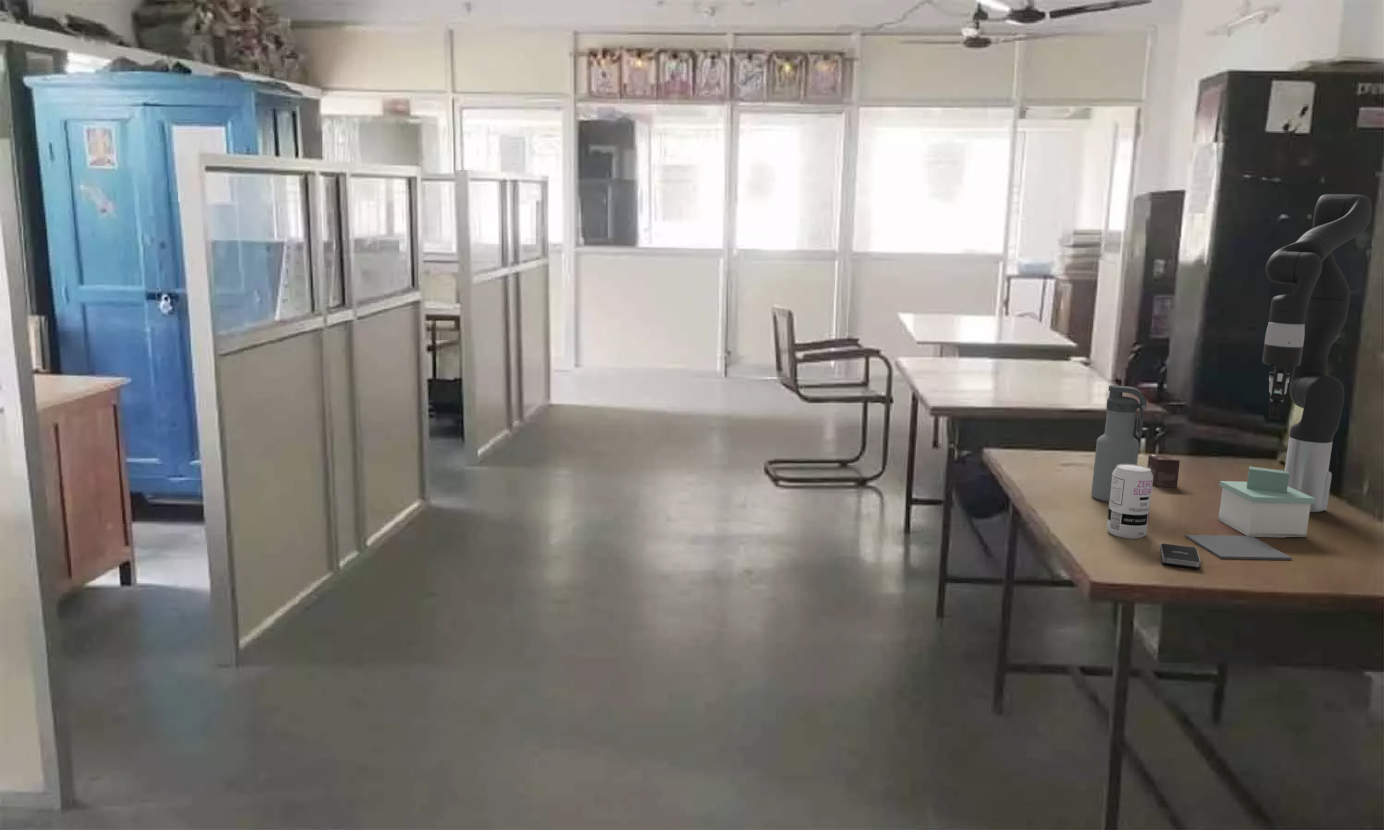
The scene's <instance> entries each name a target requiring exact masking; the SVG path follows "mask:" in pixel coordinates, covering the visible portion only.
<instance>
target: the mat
mask: <svg viewBox="0 0 1384 830" xmlns="http://www.w3.org/2000/svg"><path fill="white" fill-rule="evenodd" d="M1184 538H1186V539H1187V540H1189V541H1191V542H1193V543H1194V544H1196V545H1197V546H1199V547H1201V548H1202V549H1204V550H1206V551H1207V552H1208V553H1211V554H1212V555H1214V556H1215V557H1217V558H1218V559H1220V560H1267V561H1268V560H1269V561H1270V560H1274V561H1278V560H1279V561H1280V560H1281V561H1282V560H1283V561H1291V560H1292V559H1293V558H1292V557H1291V556H1290V555H1288V554H1286V553H1284V552H1282V551H1280V550H1278V549H1277V548H1275V547H1272V546H1271V545H1269V544H1267V543H1266V542H1264V541H1261V540H1260V539H1258V538H1257V537H1253V536H1246V535H1222V534H1220V535H1218V534H1217V535H1216V534H1215V535H1214V534H1185V535H1184Z"/></svg>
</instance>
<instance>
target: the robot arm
mask: <svg viewBox="0 0 1384 830" xmlns="http://www.w3.org/2000/svg"><path fill="white" fill-rule="evenodd" d="M1372 209H1373V208H1372V202H1371V200H1370V199H1369V197H1368V196H1366V195H1363V194H1355V193H1354V194H1353V193H1352V194H1351V193H1350V194H1347V193H1346V194H1345V193H1343V194H1342V193H1341V194H1340V193H1338V194H1333V193H1332V194H1331V193H1330V194H1329V193H1327V194H1323V195H1320V196H1319V197H1318V200H1317V202H1316V204H1315V207H1314V211H1313V219H1312V220H1313V221H1312V228H1311V229H1309V230H1307V231H1306V232H1305V233H1303V234H1302V235H1301V236H1300V237H1299V238H1298V239H1297V240H1296V241H1295V242H1292V243H1290V244H1289V245H1285V246H1283V247H1281V248H1279V249H1277V250H1276V251H1274V252H1273V253H1272V254H1271V255H1270V257H1269V258H1268V260H1267V261H1266V265H1265V274H1266V277H1267V278H1268V280H1269V281H1270V282H1271V283H1275V284H1279V285H1280V284H1281V285H1293V286H1294V285H1296V286H1297V287H1296V289H1295V290H1294V291H1293V292H1292V293H1288V294H1279V295H1276V296H1273V297H1272V299H1271V303H1270V307H1269V309H1270V310H1269V317H1268V323H1267V324H1268V325H1267V328H1266V331H1265V337H1264V345H1263V353H1262V360H1261V361H1262V364H1265V365H1269V366H1273V367H1272V370H1273V371H1269V376H1268V381H1269V385H1268V389H1269V390H1268V392H1269V395H1270V396H1269V400H1270V402H1269V406H1268V407H1269V408H1268V411H1269V412H1268V418H1269V419H1271V420H1272V419H1273V420H1279V419H1281V415H1282V413H1281V412H1282V407H1283V403H1284V401H1285V395H1286V394H1287V390H1288V384H1289V383H1290V385H1289V390H1288V391H1289V396H1290V399H1291V401H1292V403H1294V405H1295V406H1297V407H1299V408H1302V414H1301V419H1300V421H1299V422H1297V423H1294V424H1292V425H1291V426H1290V429H1289V434H1288V435H1289V437H1288V443H1287V451H1286V458H1285V464H1284V471H1289V480H1288V487H1290V488H1293V489H1295V490H1297V491H1300V492H1302V493H1304V494H1306V495H1309V496H1311V497H1313V498H1315V504H1311V506H1310V513H1321V512H1326V510H1328V503H1329V496H1330V489H1331V483H1332V476H1333V474H1332V472H1331V471H1329V470H1330V469H1329V468H1330V461H1331V456H1332V455H1331V454H1332V448H1333V442H1334V441H1333V440H1334V437H1335V434H1336V433H1337V431H1338V429H1339V426H1340V423H1341V422H1340V421H1341V417H1342V413H1343V409H1344V403H1345V388H1344V384H1343V383H1342V381H1341V380H1340V379H1339V378H1337V377H1335V376H1333V375H1330V374H1327V366H1328V359H1329V354H1330V351H1331V348H1332V346H1333V344H1334V342H1335V340H1336V339H1337V338H1338V336H1339V335H1340V334H1341V332H1342V330H1343V328H1344V326H1345V324H1346V321H1347V318H1348V315H1349V314H1348V313H1349V307H1350V299H1351V288H1350V286H1349V283H1348V282H1347V279H1346V277H1345V275H1344V274H1343V272H1342V271H1341V269H1340V266H1339V265H1338V263H1337V262H1336V259H1335V257H1334V253H1333V252H1334V251H1335V250H1336V249H1338V248H1339V247H1341V246H1343V245H1344V244H1345V243H1347V242H1349V241H1351V240H1353V239H1354V238H1356V237H1357V236H1359V235H1361V234H1362V233H1363V232H1365V230H1366V229H1367V227H1368V226H1369V224H1370V221H1371V218H1372V212H1373V210H1372ZM1288 367H1289V368H1290V367H1291V368H1293V370H1292V375H1291V374H1290V373H1287V369H1288ZM1290 377H1291V379H1290ZM1324 510H1325V511H1324Z"/></svg>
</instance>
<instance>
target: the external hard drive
mask: <svg viewBox="0 0 1384 830" xmlns="http://www.w3.org/2000/svg"><path fill="white" fill-rule="evenodd" d="M1159 545H1160V546H1159V553H1160V559H1161V564H1162V566H1164V567H1169V568H1178V569H1186V570H1193V571H1199V570H1200V568H1201V562H1202V561H1201V558H1200V556H1199V551H1198V548H1197V547H1195V546H1187V545H1181V544H1179V545H1177V544H1172V543H1162V542H1161V543H1160V544H1159Z"/></svg>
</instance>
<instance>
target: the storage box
mask: <svg viewBox="0 0 1384 830" xmlns="http://www.w3.org/2000/svg"><path fill="white" fill-rule="evenodd" d="M1221 488H1222V487H1221ZM1220 496H1221V497H1220V503H1219V512H1218V518H1217V520H1218V521H1219V522H1220V523H1223V524H1225V525H1227V526H1228V527H1230V528H1232V529H1234V530H1235V531H1238V532H1239V533H1241V534H1243V535H1244V536H1253V537H1254V538H1286V537H1306V538H1307V533H1308V525H1309V521H1310V513H1311V512H1310V506H1311V504H1308V503H1259V502H1251V501H1249V500H1247V499H1245V498H1243V497H1241V496H1239V495H1236V494H1234V493H1232V492H1230V491H1228V490H1226V489H1224V488H1222V489H1221V495H1220Z"/></svg>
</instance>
